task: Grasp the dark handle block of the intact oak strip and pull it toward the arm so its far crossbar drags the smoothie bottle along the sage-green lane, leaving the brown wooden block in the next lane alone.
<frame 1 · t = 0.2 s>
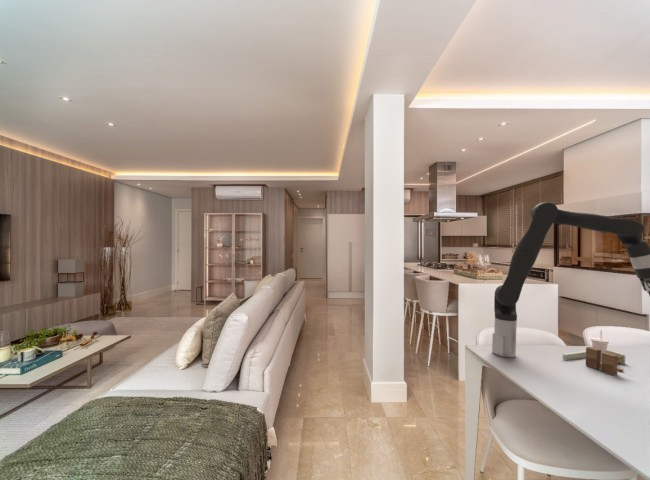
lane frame: (592, 360, 142), on the table
pull strip: (597, 353, 141), point 4 cm above the table, slide at 0.0 cm
smoothie: (598, 360, 144), on the table
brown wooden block: (609, 373, 129), on the table
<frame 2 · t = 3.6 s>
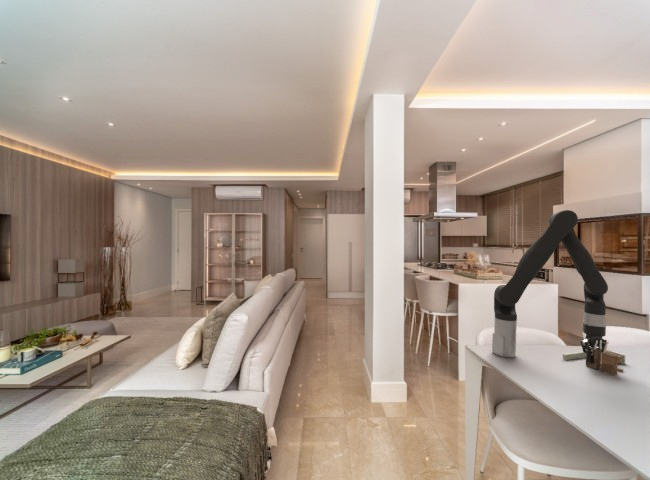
hand: (593, 362, 135), 2 cm above the table, tool pointing down, fingers closed on pull strip, 3 cm apart
pull strip: (597, 353, 141), point 4 cm above the table, slide at 0.0 cm, touching gripper
everything else where it was.
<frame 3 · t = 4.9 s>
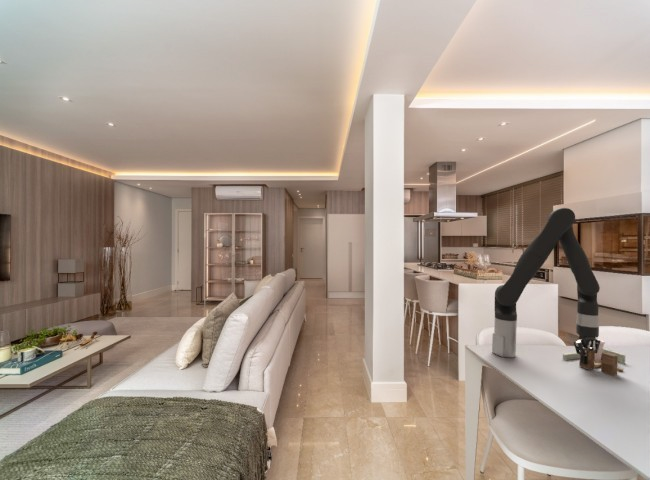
hand: (586, 363, 134), 2 cm above the table, tool pointing down, fingers closed on pull strip, 3 cm apart
pull strip: (591, 353, 139), point 4 cm above the table, slide at 4.0 cm, touching gripper, smoothie
smoothie: (594, 361, 143), on the table, touching pull strip
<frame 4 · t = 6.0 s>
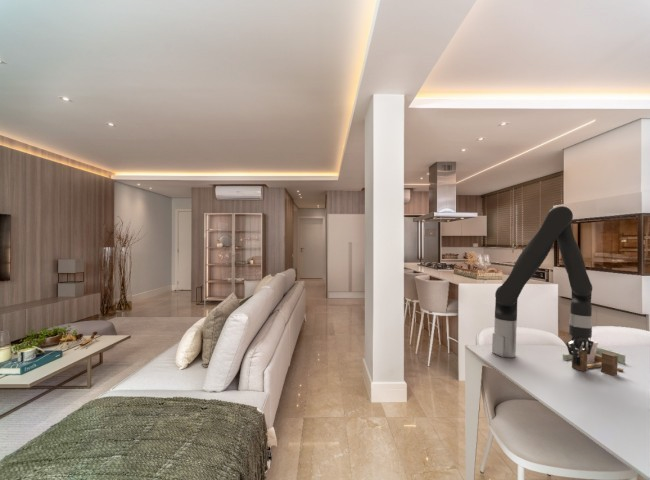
hand: (579, 364, 132), 2 cm above the table, tool pointing down, fingers closed on pull strip, 3 cm apart
pull strip: (584, 354, 138), point 4 cm above the table, slide at 8.7 cm, touching gripper, smoothie
smoothie: (588, 362, 141), on the table, touching pull strip
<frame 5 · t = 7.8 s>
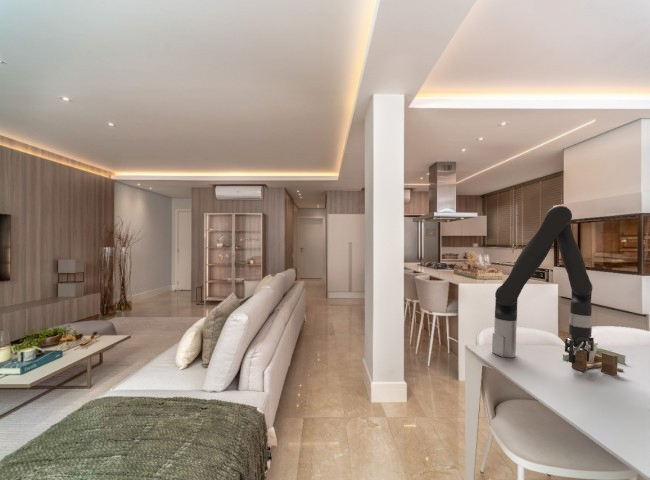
hand: (578, 361, 132), 3 cm above the table, tool pointing down, fingers open, 8 cm apart
pull strip: (584, 354, 138), point 4 cm above the table, slide at 8.9 cm
smoothie: (587, 362, 141), on the table
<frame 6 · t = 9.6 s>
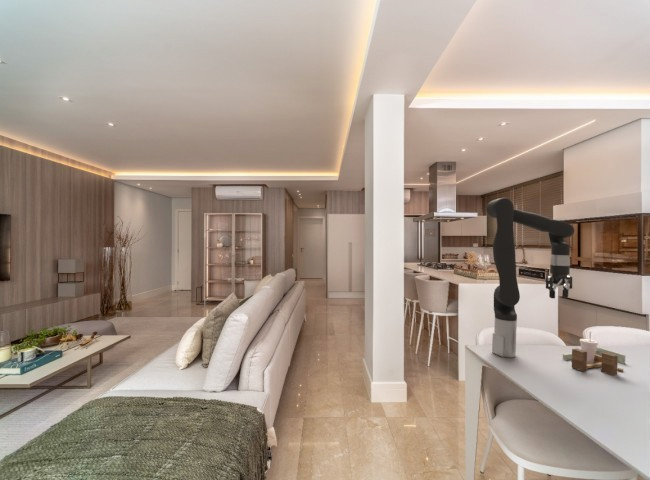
hand: (558, 297, 148), 28 cm above the table, tool pointing down, fingers open, 8 cm apart
nothing on the table moved.
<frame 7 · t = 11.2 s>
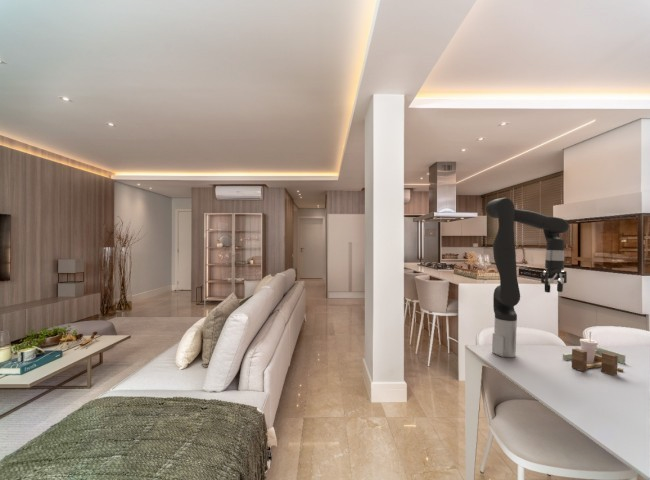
hand: (553, 292, 152), 30 cm above the table, tool pointing down, fingers open, 8 cm apart
nothing on the table moved.
at the end: pull strip slide at 8.9 cm; smoothie inside the target area (1.4 cm from its centre), on the table; smoothie tilted 0° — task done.
